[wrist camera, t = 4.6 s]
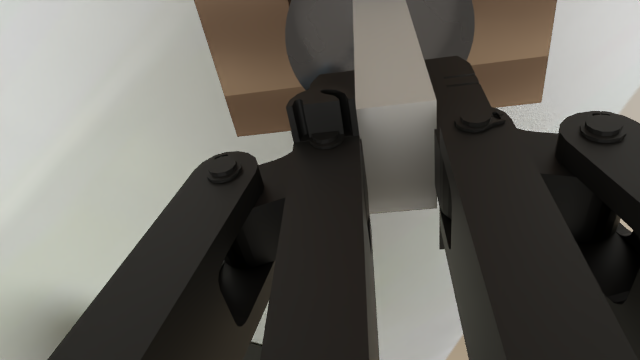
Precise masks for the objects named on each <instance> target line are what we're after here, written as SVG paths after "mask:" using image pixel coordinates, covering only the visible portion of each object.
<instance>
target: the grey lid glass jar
mask: <svg viewBox="0 0 640 360" xmlns="http://www.w3.org/2000/svg"><path fill="white" fill-rule="evenodd" d="M406 3H407V6H408V9H409V13H410V16H411V19H412V22H413V26H414V29H415V32H416V35H417V39H418V42H419V45H420V48H421V51H422V55H423V58H424V60H426V59H434V58H442V57H450V56H459V57H461V58H462V59H464V60H466V61H467V59H468V56H469V53H470V51H471V47H472V43H473V38H474V29H475V15H474V9H473V3H472V0H406ZM285 43H286V50H287V55H288V59H289V62H290V65H291V67H292V70H293V72H294V74H295V76H296V78H297V79H298V81H299V83H300V84H301V85H302V87H303V88H304V89H305V90H308V89H310V84H311V83H312V82H313V81H314V80H315V79H316V78H317V76H318V75H320V74H328V73H336V72H344V71H351V70H355V69H354V32H353V0H291V3H290V6H289V10H288V14H287V18H286V26H285Z"/></svg>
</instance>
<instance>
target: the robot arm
mask: <svg viewBox="0 0 640 360" xmlns="http://www.w3.org/2000/svg"><path fill="white" fill-rule="evenodd" d="M353 32H354V69H355V70H351V71H344V72H336V73H328V74H320V75H318V76H317V78H316V79H315V80H314V81H313V82H312V83H311V84H310V89H308V90H306V91H303V92H301V93H299V94H297V95H295V96H294V97H293V98H292V99H290V100H289V102H288V104H287V105H286V111H287V115H288V119H289V124H290V128H291V132H292V136H293V141H294V145H293V151H292V152H291V153H289V154H287V155H286V156H284V157H282V158H279V159H277V160H274V161H271V162H268V163H264V164H261V165H258V164H257V161H256V158H255V157H253V156H252V155H250V154H249V153H245V152H239V151H236V152H225V153H221V154H218V155H215V156H213V157H211V158H209V159H208V160H206V161H204V162H202V163H201V164H200V165H199V166H198V167H197V168H196V169H195V170H194V171H193V173H192V174H191V175H190V177H189V178H188V179H187V180H186V182H185V183H184V184H183V186H182V187H181V188H180V189H179V191H178V192H177V193H176V195H175V196H174V197H173V198H172V200H171V201H170V202H169V204H168V205H167V206H166V207H165V209H164V210H163V211H162V213H161V214H160V215H159V217H158V218H157V219H156V220H155V222H154V223H153V224H152V226H151V227H150V228H149V229H148V231H147V232H146V233H145V235H144V236H143V237H142V238H141V240H140V241H139V242H138V244H137V245H136V246H135V248H134V249H133V250H132V251H131V253H130V254H129V255H128V257H127V258H126V259H125V260H124V262H123V263H122V264H121V266H120V267H119V268H118V269H117V271H116V272H115V273H114V275H113V276H112V277H111V278H110V280H109V281H108V282H107V284H106V285H105V286H104V288H103V289H102V290H101V291H100V293H99V294H98V295H97V297H96V298H95V299H94V300H93V302H92V303H91V304H90V306H89V307H88V308H87V309H86V311H85V312H84V313H83V315H82V316H81V317H80V318H79V320H78V321H77V322H76V324H75V325H74V326H73V328H72V329H71V330H70V331H69V333H68V334H67V335H66V337H65V338H64V339H63V340H62V342H61V343H60V344H59V346H58V347H57V348H56V349H55V351H54V352H53V353H52V355H51V356H50V357H49V358H48V360H379V346H378V330H377V314H376V298H375V281H374V265H373V249H372V233H371V224H370V216H369V214H373V213H385V212H397V211H409V210H421V209H433V208H437V197H438V201H439V206H440V249H445V252H446V256H447V261H448V265H449V270H450V275H451V279H452V284H453V288H454V293H455V298H456V302H457V307H458V311H459V316H460V321H461V325H462V330H463V334H464V339H465V344H466V347H467V352H468V357H469V360H640V124H639V123H638V122H636V121H634V120H632V119H630V118H628V117H625V116H623V115H618V114H614V113H611V112H605V111H602V112H600V111H590V112H583V113H577V114H574V115H572V116H569V117H567V118H566V119H565V120H564V121H563V122H562V123H561V124H560V128H559V133H558V134H555V133H542V132H532V131H525V130H521V129H517V128H516V127H515V125H514V123H513V121H512V119H511V118H510V117H509V116H508V115H507V114H506V113H505V112H503V111H501V110H499V109H497V108H494V107H491V105H490V103H489V101H488V99H487V97H486V95H485V93H484V91H483V89H482V87H481V85H480V84H479V80H478V78H477V76H476V75H475V72H474V70H473V68H472V66H471V64H470V63H469V62H467V61H466V60H464V59H462V58H461V57H459V56H450V57H442V58H434V59H426V60H424V58H423V55H422V51H421V48H420V45H419V42H418V39H417V35H416V32H415V29H414V26H413V22H412V19H411V16H410V13H409V9H408V6H407V3H406V0H353ZM620 219H622V220H623V221H624V222H625V223H627V224H628V225H629V226H630V227H631V228H632V229H633V232H631V231H629V230H628V229H626V228H625V227H624V226H623V225H622V224H621V223H620ZM268 301H269V306H268V312H267V318H266V325H265V331H264V338H263V344H262V346H259V345H256V344H252V343H250V342H251V340H252V338H253V335H254V333H255V331H256V329H257V326H258V324H259V322H260V319H261V317H262V315H263V313H264V310H265V308H266V306H267V303H268Z"/></svg>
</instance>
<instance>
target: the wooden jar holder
mask: <svg viewBox="0 0 640 360" xmlns="http://www.w3.org/2000/svg"><path fill="white" fill-rule="evenodd" d="M194 2H195V5H196V8H197V11H198V14H199V17H200V20H201V24H202V27H203V30H204V33H205V36H206V39H207V42H208V46H209V49H210V52H211V55H212V58H213V61H214V64H215V68H216V71H217V74H218V77H219V80H220V83H221V86H222V90H223V93H224V96H225V99H226V102H227V105H228V108H229V112H230V115H231V118H232V121H233V124H234V127H235V130H236V134H237V137H239V136H248V135H257V134H266V133H274V132H283V131H291V128H290V124H289V119H288V115H287V111H286V105H287V104H288V102H289V100H290V99H292V98H293V97H294V96H295V95H297V94H299V93H301V92H303V91H306V90H305V89H304V88H303V87H302V85H301V84H300V83H299V81H298V79H297V78H296V76H295V74H294V72H293V70H292V67H291V65H290V62H289V59H288V55H287V50H286V43H285V26H286V18H287V14H288V10H289V6H290V3H291V0H194ZM472 3H473V9H474V15H475V29H474V38H473V43H472V47H471V51H470V53H469V56H468V59H467V62H469V63H470V64H471V66H472V68H473V70H474V72H475V75H476V76H477V78H478V80H479V84H480V85H481V87H482V89H483V91H484V93H485V95H486V97H487V99H488V101H489V103H490V105H491V107H494V108H496V107H505V106H514V105H523V104H532V103H540V102H541V101H542V94H543V88H544V81H545V75H546V68H547V62H548V55H549V49H550V42H551V36H552V29H553V23H554V16H555V10H556V3H557V0H472Z"/></svg>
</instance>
